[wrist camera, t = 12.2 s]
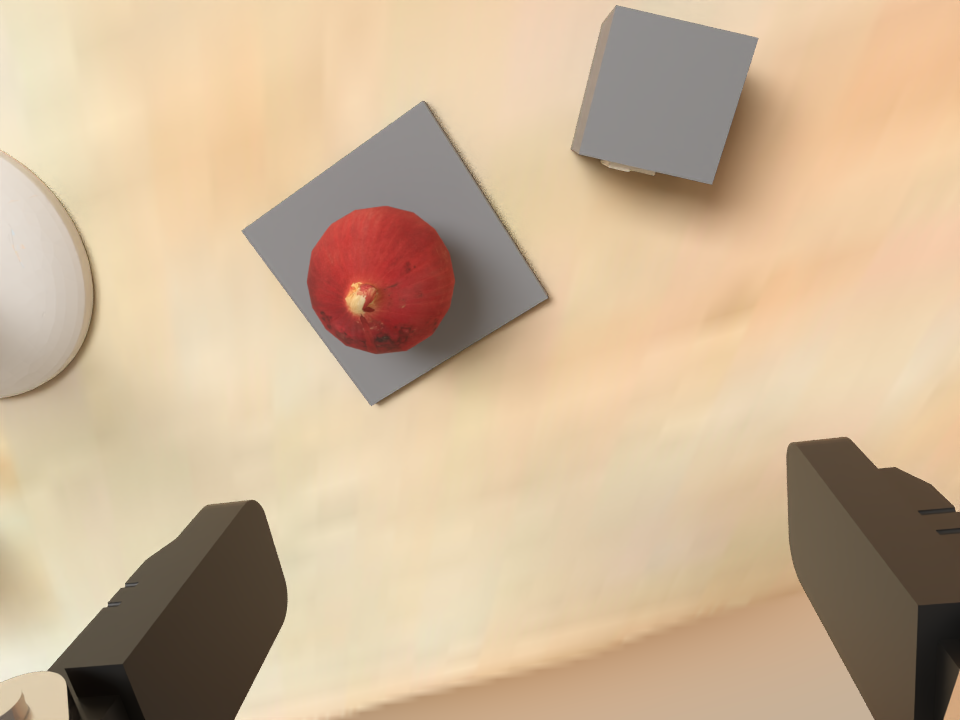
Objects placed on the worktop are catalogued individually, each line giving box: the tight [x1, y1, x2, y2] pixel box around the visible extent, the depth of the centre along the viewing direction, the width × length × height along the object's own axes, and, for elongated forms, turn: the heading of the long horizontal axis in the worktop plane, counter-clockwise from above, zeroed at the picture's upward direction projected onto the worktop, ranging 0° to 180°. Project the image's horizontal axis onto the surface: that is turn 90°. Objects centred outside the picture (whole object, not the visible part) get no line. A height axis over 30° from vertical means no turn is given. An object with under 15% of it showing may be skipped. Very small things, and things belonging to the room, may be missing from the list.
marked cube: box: [571, 5, 758, 185], centre depth 27 cm, size 5×5×5 cm
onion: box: [307, 206, 455, 354], centre depth 28 cm, size 6×6×8 cm
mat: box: [242, 101, 548, 406], centre depth 32 cm, size 10×10×1 cm
